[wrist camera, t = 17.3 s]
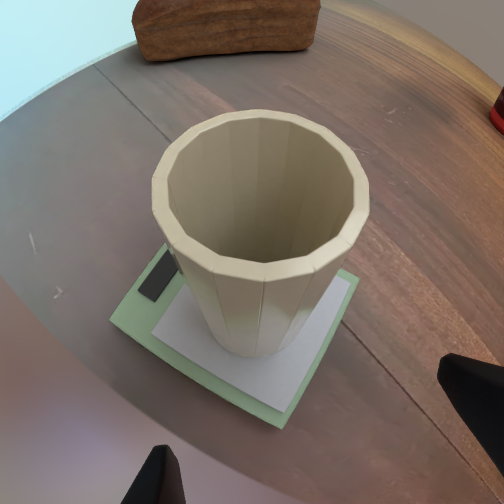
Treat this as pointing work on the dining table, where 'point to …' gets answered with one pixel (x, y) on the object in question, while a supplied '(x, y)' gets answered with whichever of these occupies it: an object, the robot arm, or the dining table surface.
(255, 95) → the dining table surface
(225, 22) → the bread
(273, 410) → the scale
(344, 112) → the dining table surface
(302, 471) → the dining table surface
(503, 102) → the canned food
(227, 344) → the cup
